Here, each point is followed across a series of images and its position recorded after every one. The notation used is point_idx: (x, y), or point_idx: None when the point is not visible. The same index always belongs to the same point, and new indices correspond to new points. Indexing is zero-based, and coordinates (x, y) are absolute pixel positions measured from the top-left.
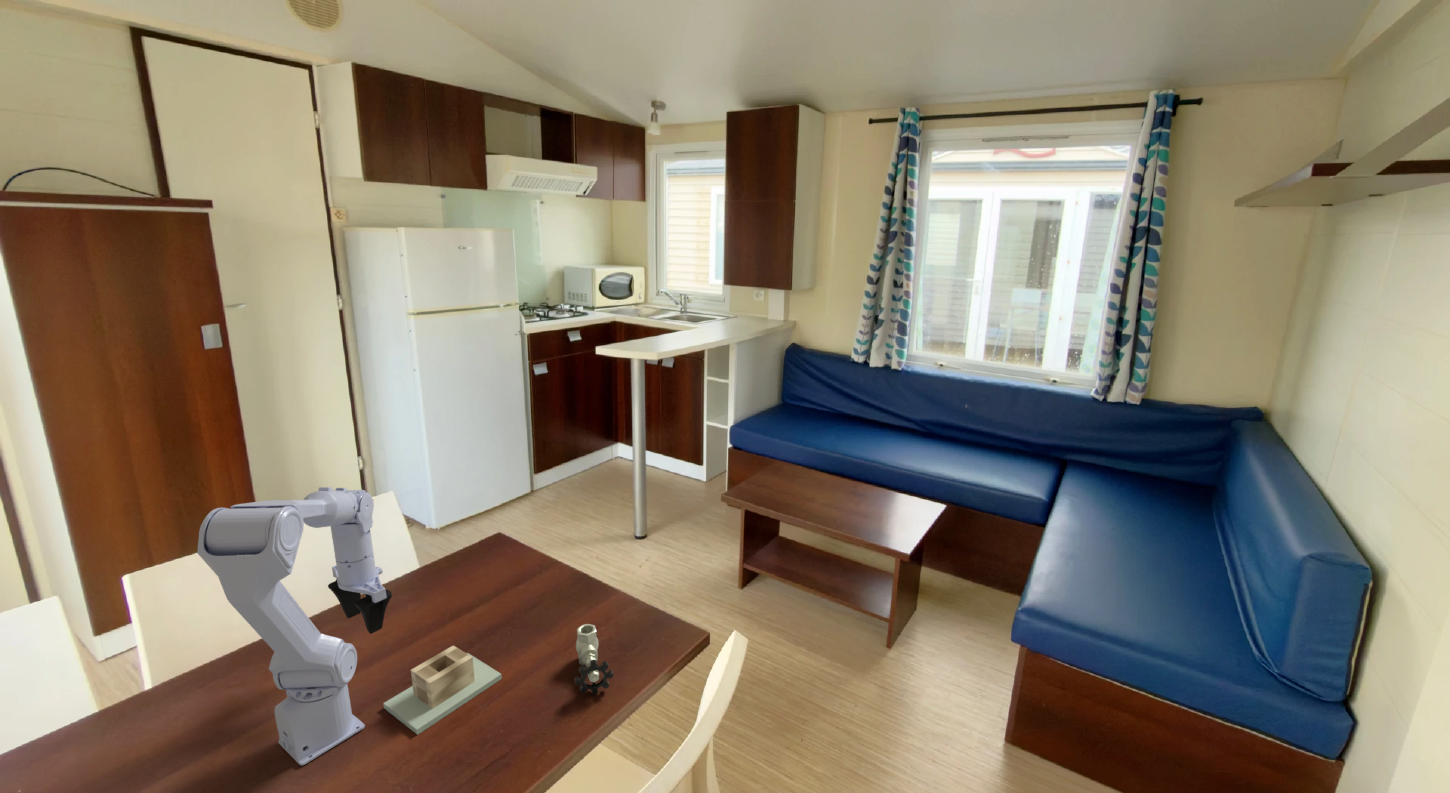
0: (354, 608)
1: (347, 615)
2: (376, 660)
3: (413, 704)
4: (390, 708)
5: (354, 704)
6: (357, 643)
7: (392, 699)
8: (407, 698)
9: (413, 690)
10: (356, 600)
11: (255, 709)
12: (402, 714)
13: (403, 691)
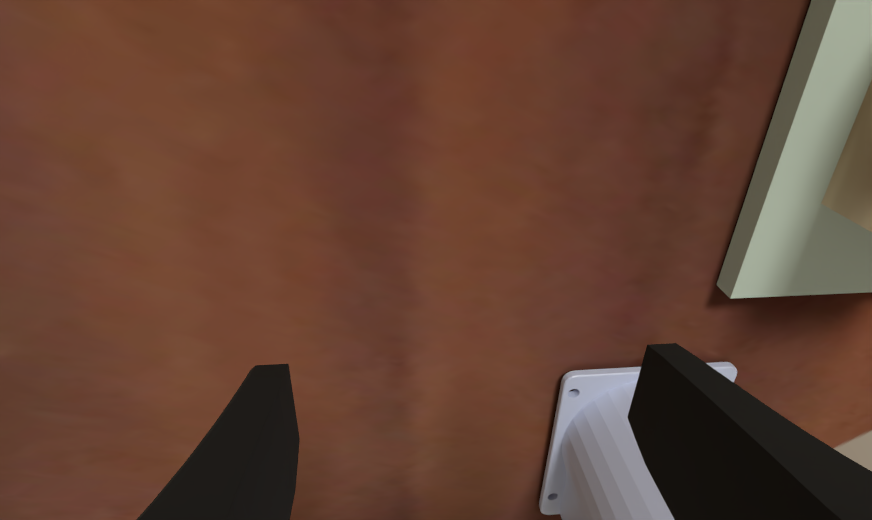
0: (279, 454)
1: (294, 471)
2: (395, 158)
3: (858, 233)
4: (780, 295)
5: (590, 336)
6: (145, 147)
7: (748, 268)
8: (807, 230)
9: (840, 213)
10: (252, 500)
11: (321, 509)
12: (849, 283)
13: (760, 220)
